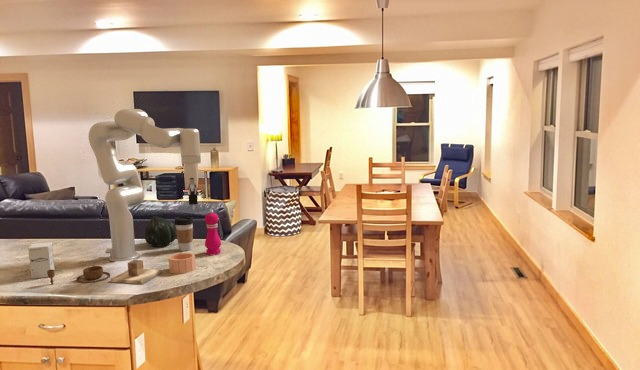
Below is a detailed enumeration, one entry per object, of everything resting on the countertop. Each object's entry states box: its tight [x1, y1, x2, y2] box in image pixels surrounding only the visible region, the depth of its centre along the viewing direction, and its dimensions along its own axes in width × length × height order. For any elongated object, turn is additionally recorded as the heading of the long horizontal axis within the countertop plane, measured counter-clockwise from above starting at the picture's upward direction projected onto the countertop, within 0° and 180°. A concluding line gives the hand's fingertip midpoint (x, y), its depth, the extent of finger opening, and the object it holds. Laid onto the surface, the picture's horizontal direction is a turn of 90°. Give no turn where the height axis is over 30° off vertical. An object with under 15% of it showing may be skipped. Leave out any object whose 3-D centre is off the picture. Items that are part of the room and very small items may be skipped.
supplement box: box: [27, 241, 56, 280], centre depth 201 cm, size 7×7×13 cm
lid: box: [110, 259, 162, 284], centre depth 195 cm, size 13×13×6 cm
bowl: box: [168, 252, 196, 275], centre depth 203 cm, size 10×10×6 cm
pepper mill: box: [204, 209, 222, 256], centre depth 227 cm, size 7×7×20 cm
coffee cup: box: [174, 216, 194, 252], centre depth 235 cm, size 8×8×15 cm
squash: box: [143, 216, 177, 247], centre depth 245 cm, size 14×15×15 cm
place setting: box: [47, 265, 111, 285], centre depth 196 cm, size 18×20×6 cm
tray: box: [106, 271, 165, 286], centre depth 195 cm, size 15×15×1 cm
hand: (193, 202), depth 204 cm, fingers open, 9 cm apart
